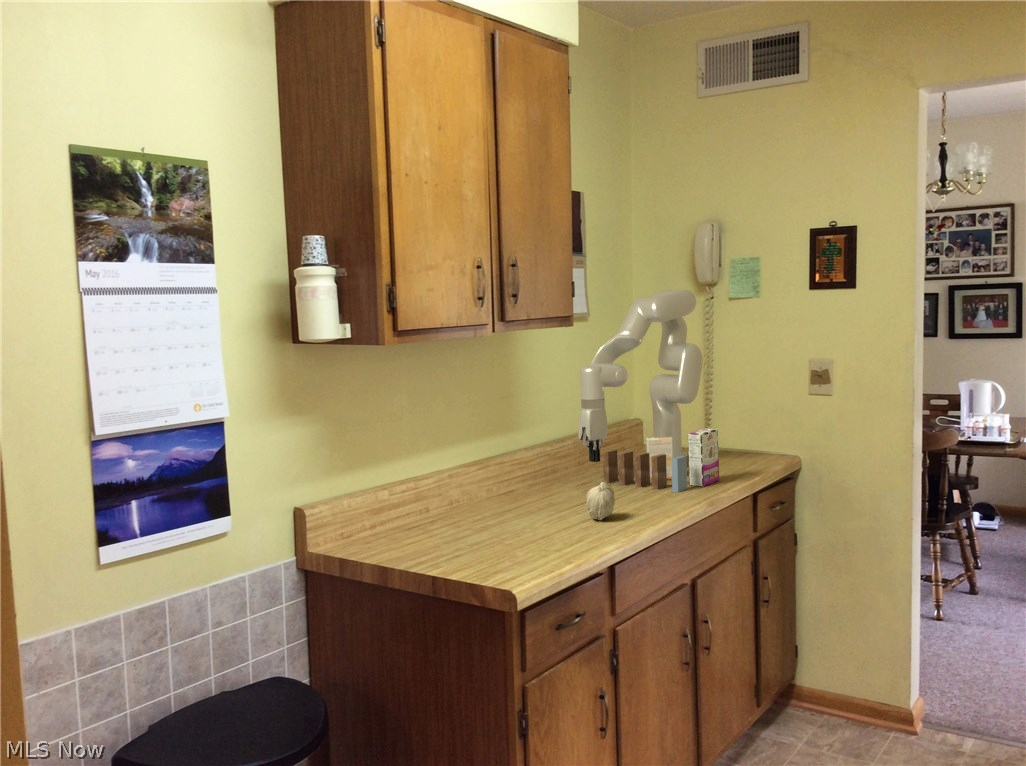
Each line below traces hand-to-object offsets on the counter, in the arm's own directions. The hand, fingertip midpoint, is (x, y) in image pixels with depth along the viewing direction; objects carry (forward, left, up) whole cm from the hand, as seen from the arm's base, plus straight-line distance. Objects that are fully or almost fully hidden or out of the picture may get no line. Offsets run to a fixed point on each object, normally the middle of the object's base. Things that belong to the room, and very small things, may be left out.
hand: (594, 461), depth 286 cm
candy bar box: (-13, +32, -6) cm, 35 cm away
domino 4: (0, +24, -6) cm, 25 cm away
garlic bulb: (+42, +33, -6) cm, 54 cm away
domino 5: (0, +31, -6) cm, 32 cm away
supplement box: (-13, +16, -6) cm, 22 cm away
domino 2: (0, +12, -6) cm, 14 cm away
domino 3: (0, +18, -6) cm, 19 cm away
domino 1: (0, +6, -6) cm, 9 cm away
